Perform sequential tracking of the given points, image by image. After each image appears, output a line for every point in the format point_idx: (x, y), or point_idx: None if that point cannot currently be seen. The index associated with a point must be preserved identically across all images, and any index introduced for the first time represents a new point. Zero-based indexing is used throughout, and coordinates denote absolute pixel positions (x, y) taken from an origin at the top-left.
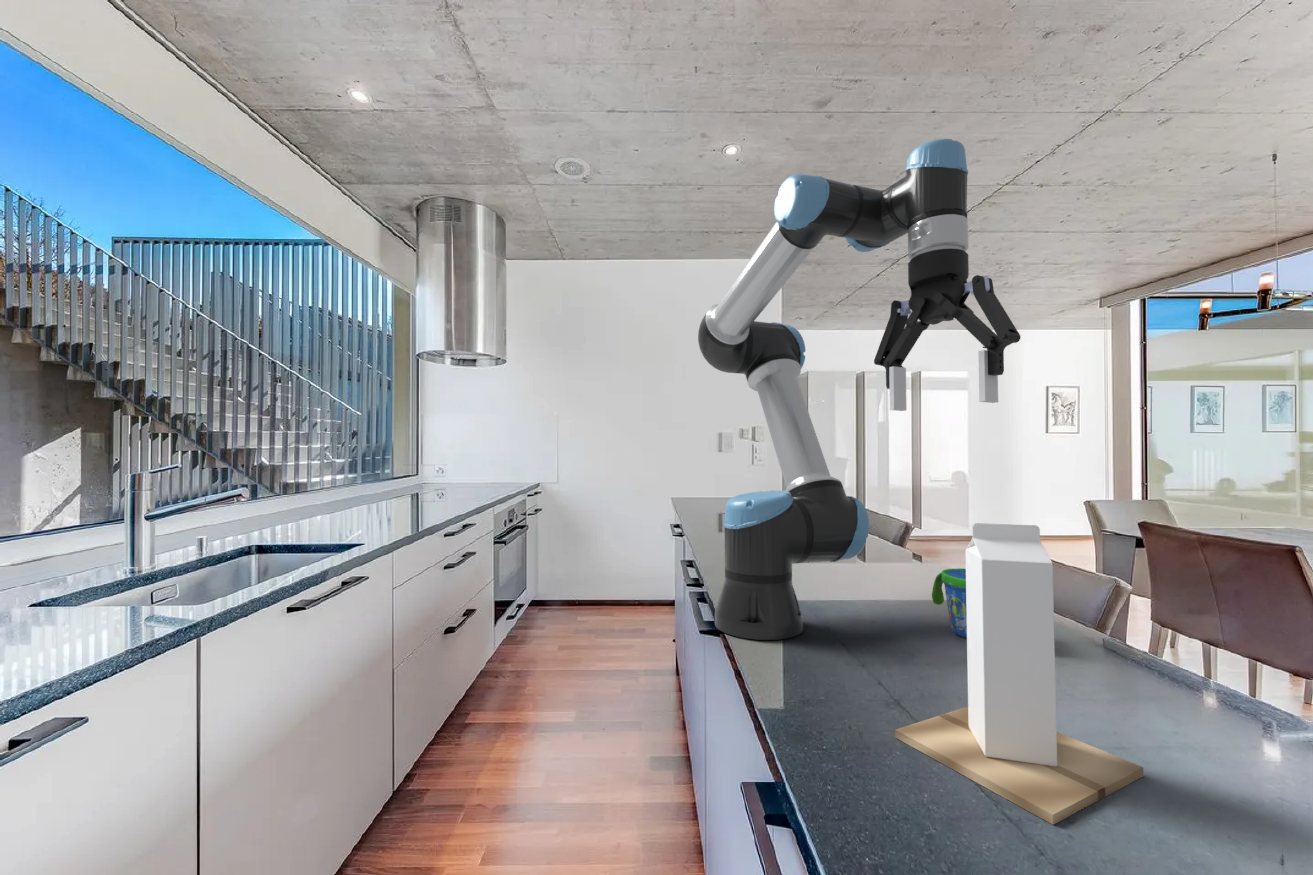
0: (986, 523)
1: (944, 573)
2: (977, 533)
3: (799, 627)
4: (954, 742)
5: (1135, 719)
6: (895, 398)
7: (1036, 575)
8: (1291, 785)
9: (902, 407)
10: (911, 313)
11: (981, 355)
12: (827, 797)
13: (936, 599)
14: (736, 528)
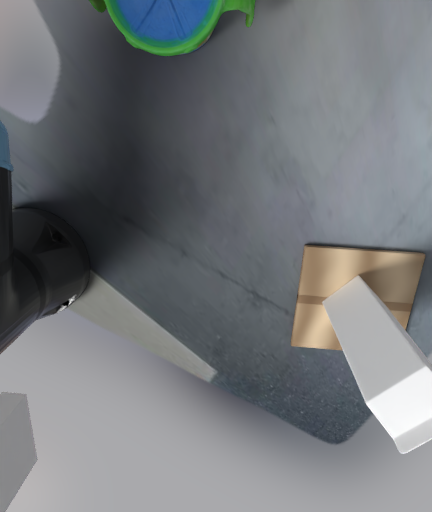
0: (414, 447)
1: (128, 36)
2: (400, 442)
3: (78, 243)
4: (326, 328)
5: (399, 144)
6: (3, 503)
7: None
8: None
9: (22, 427)
10: None
11: None
12: (307, 419)
13: (102, 4)
14: None
